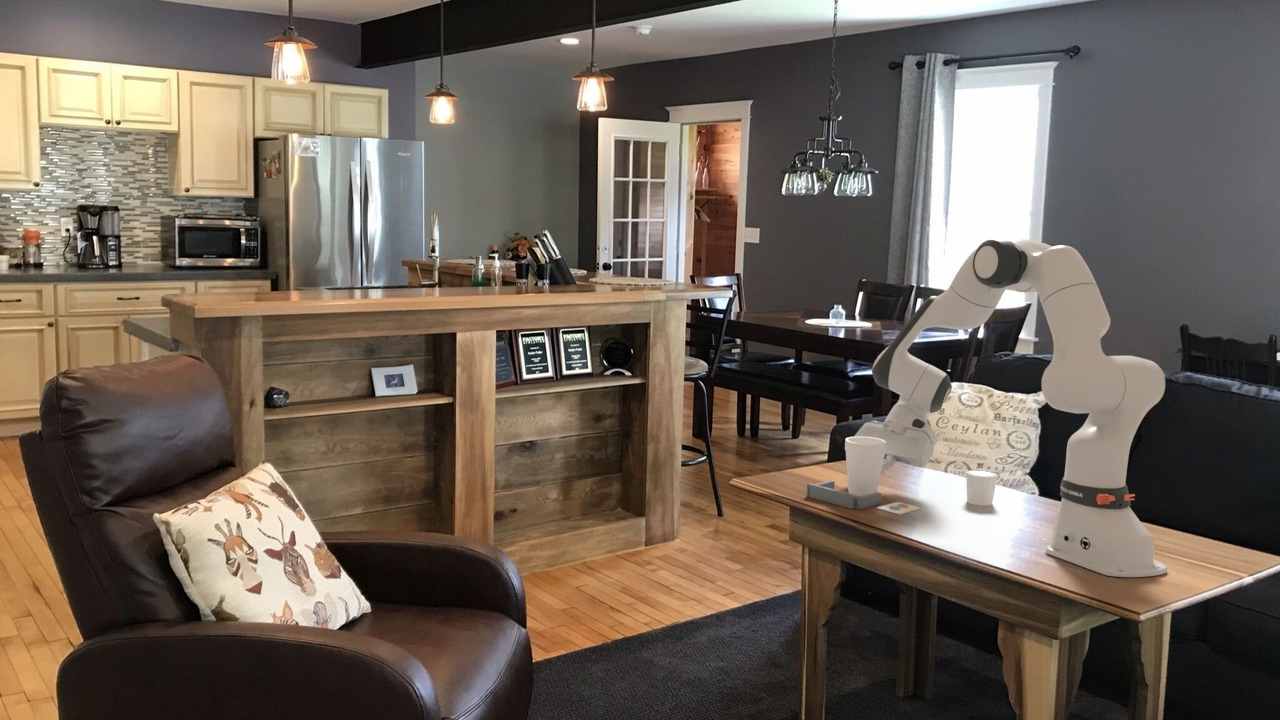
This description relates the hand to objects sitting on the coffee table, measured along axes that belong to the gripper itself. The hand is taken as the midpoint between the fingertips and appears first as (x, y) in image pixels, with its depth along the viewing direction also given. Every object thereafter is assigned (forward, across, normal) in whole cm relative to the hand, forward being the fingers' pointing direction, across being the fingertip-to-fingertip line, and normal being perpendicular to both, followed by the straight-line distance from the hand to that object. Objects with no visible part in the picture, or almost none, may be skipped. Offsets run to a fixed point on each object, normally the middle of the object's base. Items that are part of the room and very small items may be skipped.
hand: (876, 471), depth 251 cm
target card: (+9, +12, -2) cm, 16 cm away
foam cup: (+7, 0, 0) cm, 7 cm away
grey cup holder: (+12, 0, -6) cm, 14 cm away
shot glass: (-5, +20, +12) cm, 24 cm away
